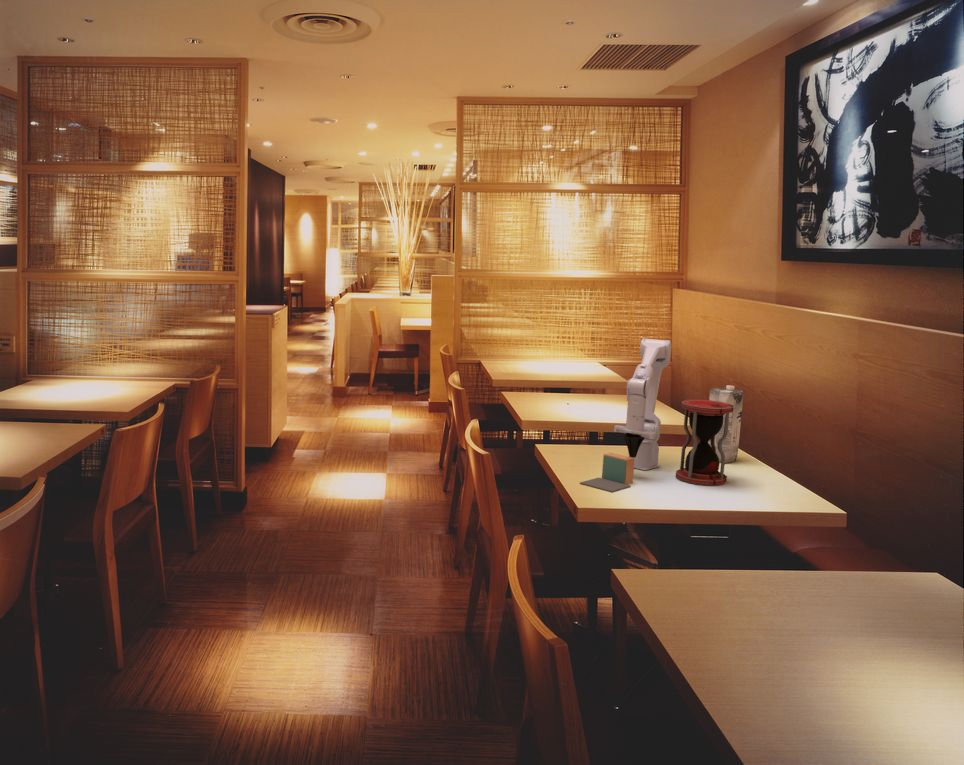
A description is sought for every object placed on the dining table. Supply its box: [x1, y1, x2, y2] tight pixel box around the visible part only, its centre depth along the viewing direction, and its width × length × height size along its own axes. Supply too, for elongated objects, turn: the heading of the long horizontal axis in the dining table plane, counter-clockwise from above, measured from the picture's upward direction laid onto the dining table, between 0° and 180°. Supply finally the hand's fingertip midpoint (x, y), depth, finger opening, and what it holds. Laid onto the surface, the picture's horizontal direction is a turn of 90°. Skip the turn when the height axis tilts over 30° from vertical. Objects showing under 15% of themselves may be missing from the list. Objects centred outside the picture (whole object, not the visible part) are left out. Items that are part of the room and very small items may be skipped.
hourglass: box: [675, 399, 733, 487], centre depth 272 cm, size 16×16×25 cm
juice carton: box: [708, 385, 744, 464], centre depth 300 cm, size 9×10×27 cm
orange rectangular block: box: [601, 452, 635, 485], centre depth 266 cm, size 4×9×8 cm, turn 47°
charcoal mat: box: [579, 477, 632, 493], centre depth 261 cm, size 10×12×1 cm
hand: (632, 457), depth 272 cm, fingers closed
